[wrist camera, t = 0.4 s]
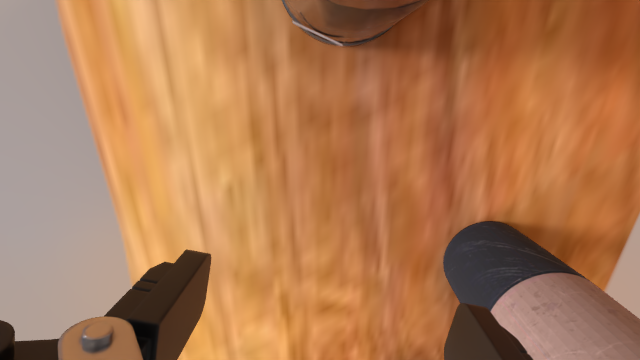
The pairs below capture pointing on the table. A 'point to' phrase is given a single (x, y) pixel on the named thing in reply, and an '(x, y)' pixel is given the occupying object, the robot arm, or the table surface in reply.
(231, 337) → the table surface
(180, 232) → the table surface
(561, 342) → the travel mug
